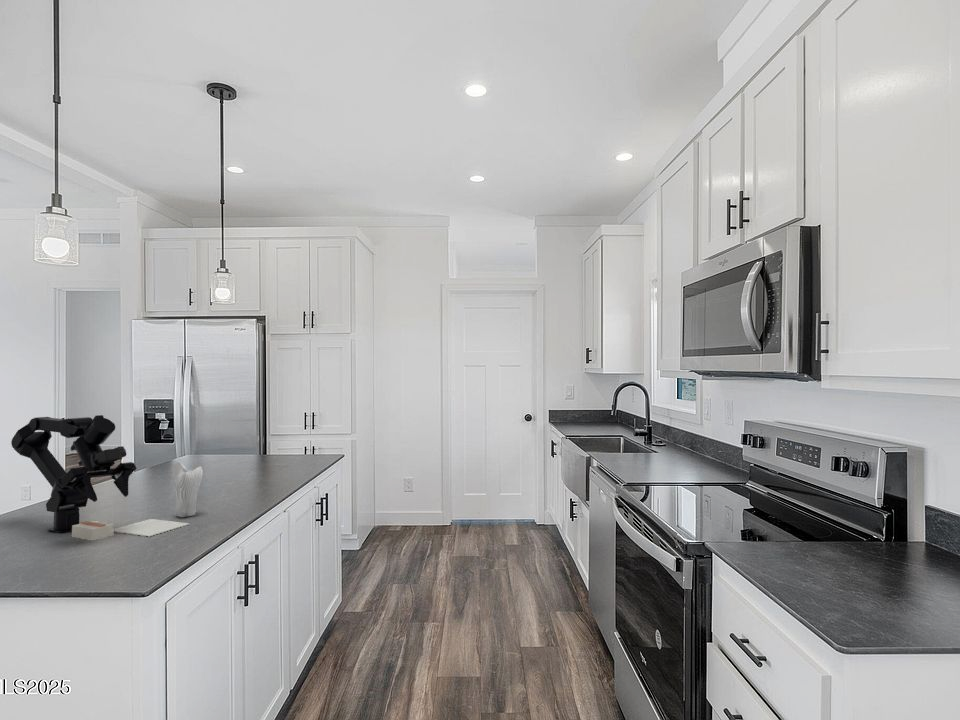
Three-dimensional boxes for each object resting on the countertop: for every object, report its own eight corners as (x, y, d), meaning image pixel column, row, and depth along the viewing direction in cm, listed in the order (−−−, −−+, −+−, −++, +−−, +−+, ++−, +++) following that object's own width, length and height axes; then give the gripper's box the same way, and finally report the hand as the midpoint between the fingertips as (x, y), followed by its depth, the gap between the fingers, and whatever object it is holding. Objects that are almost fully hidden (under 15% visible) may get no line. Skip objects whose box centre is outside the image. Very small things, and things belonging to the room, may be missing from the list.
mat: (109, 531, 166) (109, 530, 166) (151, 520, 179) (151, 518, 179) (149, 537, 161) (149, 535, 161) (189, 524, 174) (189, 523, 174)
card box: (71, 538, 160) (72, 524, 160) (93, 532, 166) (93, 519, 166) (92, 542, 157) (92, 527, 157) (113, 536, 162) (113, 522, 162)
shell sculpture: (204, 515, 185) (205, 461, 185) (177, 520, 179) (178, 464, 179) (194, 511, 191) (195, 458, 191) (168, 515, 185) (169, 461, 185)
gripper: (74, 439, 153) (96, 486, 149) (136, 435, 171) (157, 478, 167) (51, 463, 156) (71, 510, 152) (115, 457, 173) (135, 499, 169)
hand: (111, 498), depth 160 cm, fingers open, 9 cm apart
